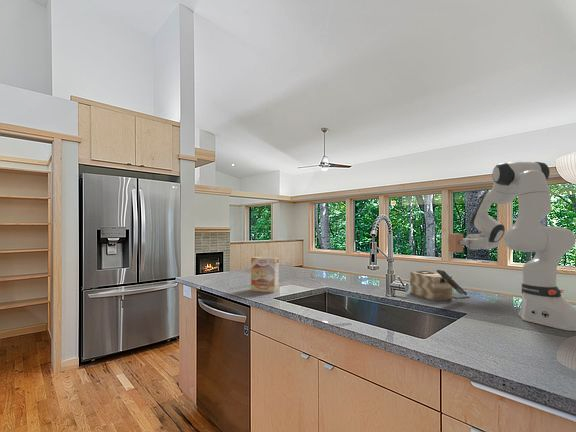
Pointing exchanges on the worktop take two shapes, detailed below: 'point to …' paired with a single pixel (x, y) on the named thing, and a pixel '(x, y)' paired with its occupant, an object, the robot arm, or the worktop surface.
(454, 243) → the reddish pink block
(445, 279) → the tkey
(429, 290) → the beige patterned box
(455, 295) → the pad
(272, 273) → the coffeecake box
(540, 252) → the robot arm
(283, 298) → the worktop surface
